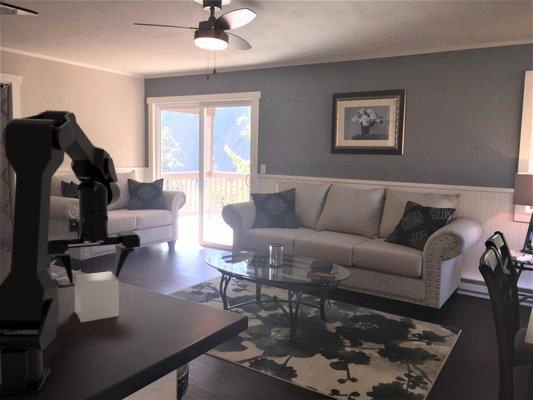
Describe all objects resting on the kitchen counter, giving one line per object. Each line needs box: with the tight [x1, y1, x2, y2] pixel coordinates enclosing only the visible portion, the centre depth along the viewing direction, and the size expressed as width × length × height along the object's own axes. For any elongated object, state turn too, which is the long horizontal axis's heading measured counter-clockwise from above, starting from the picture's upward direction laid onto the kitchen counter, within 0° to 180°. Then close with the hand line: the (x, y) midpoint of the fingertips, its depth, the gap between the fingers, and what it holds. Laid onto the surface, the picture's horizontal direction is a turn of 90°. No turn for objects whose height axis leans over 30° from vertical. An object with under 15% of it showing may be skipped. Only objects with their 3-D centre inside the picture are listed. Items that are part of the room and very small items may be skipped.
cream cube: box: [74, 271, 120, 323], centre depth 93 cm, size 8×8×8 cm
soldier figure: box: [51, 260, 82, 285], centre depth 111 cm, size 8×5×12 cm
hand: (94, 280), depth 95 cm, fingers open, 9 cm apart
